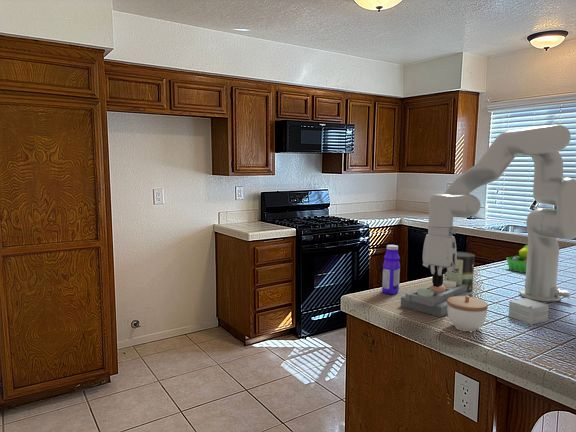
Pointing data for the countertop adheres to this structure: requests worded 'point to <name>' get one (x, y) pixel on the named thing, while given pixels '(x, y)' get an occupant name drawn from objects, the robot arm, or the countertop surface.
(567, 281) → the countertop surface
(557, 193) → the robot arm
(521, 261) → the fruit basket
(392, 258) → the bottle
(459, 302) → the lidded jar
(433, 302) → the grey compartment tray
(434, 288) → the peach rounded dome
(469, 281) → the coffee can
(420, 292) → the sage button
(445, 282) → the cream button
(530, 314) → the small box
